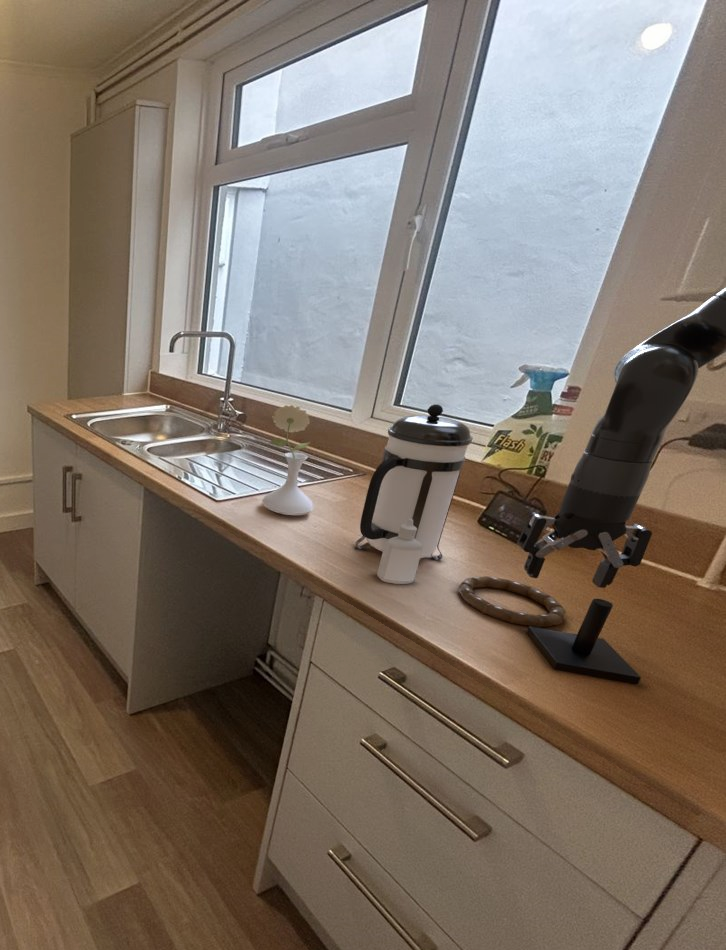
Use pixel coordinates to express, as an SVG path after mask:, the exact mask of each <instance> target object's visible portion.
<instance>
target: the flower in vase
mask: <svg viewBox="0 0 726 950" xmlns="http://www.w3.org/2000/svg"><path fill="white" fill-rule="evenodd" d="M271 418H272V420H273V421H272V422H273V423H274V426H275V427H276V428H278V430H284V431H285V432H286V438H285V440H284V439H282V438H281V437H276V438H273V439H272V440H270V441H269V442H268V444H269V445H273V446H276V447H279V448H283V447H285V446H288V449H289V450H290V452H285V453H284V454H283V455H284V457H285V459H286V461H287V474H286V475H287V476H286V481H285V483H284V484H283V485H282V486H281V487H278V488H277V489H274V490H272V491H270V492H269V493H267V494H266V495H265V496H264V497H263V498H262V504H263V507H265V508H266V509H268V510H269V511H272V512H274V513H277V514H279V515H284V516H303V515H308V514H310V513H312V511H314V508H315V506H314V503H313V501H312V499H310V498H309V496H307V494H306V493H305V492H303V491H302V489H300V488H299V486H298V477H299V473H300V470H301V468H302V465H303V464H304V463H305V461H306V460H307V459H308V458H309V456H308V455H307V454H305V453H301V452H294V451H299V450H303V449H304V448H307V447H308V446H309V445H310V444H311V441H308V442H303V443H298V444H297V445H296V446H295V447H293V448H292V446H291V445H290V442H289V433H295V432H296V433H299V432H300V431H306V428H307V427H308V425H310V424H311V422H310V421H311V419H310V417H309V413H307V411H306V410H303V409H301V407H300V406H294V405H292V404H291V405H288V404H287V405H286V404H285V405H284V406H283V407H280V406H279V407H278V408H277V409H275V412H273V415H271Z"/></svg>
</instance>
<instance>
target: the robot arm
mask: <svg viewBox="0 0 726 950" xmlns="http://www.w3.org/2000/svg"><path fill="white" fill-rule="evenodd" d="M725 353H726V287H723V289H721V290H720V291H719V292H717V293H715V294H714V295H713V296H711V297H710V298H708V299H707V300H706V301H705V302H703V303H702V304H701V305H700V306H698V307H697V308H696V309H694V310H693V311H692V312H690V313H689V314H687V315H686V316H684V317H681V318H680V319H679V320H677V321H675V322H673V323H672V324H669V325H668V326H667V327H665V328H663V329H662V330H660V331H658V332H657V333H655V334H653V335H652V336H650V337H649V338H646V339H645V340H644V341H642V342H641V343H639V344H638V345H636V346H635V347H633V348H632V349H631V350H629V351H628V352H626V353H625V354H624V355H623V356H622V357H621V358H620V359H619V361H617V363H616V365H615V366H614V370H613V379H614V382H615V386H614V388H613V392H612V394H611V397H610V399H609V402H608V404H607V407H606V410H605V412H604V414H603V415H602V416H601V417H599V419H598V420H597V422H596V423H595V425H594V427H593V429H592V431H591V434H590V437H589V439H588V442H587V444H586V445H585V446H586V447H585V449H584V451H583V453H582V455H581V457H580V459H578V461H577V463H576V465H575V468H574V470H573V472H572V474H571V475H570V480H569V483H568V485H567V488H566V490H565V493H564V495H563V498H562V500H561V502H560V505H559V510H558V512H557V514H556V515H554V516H553V517H552V516H546V515H541V514H540V513H538V512H531V513H530V514H529V516H528V518H527V520H526V523H525V524H524V526H523V529H522V531H521V532H520V535H519V537H518V539H517V541H516V545H517V546H519V548H521V549H522V550H523V551H524V552H525V553H528V555H527V558H526V560H525V563H524V565H523V569H524V571H525V573H526V574H527V575H528V576H529V577H530V578H533V579H538V578H539V576H540V573H541V571H542V568H543V565H544V563H545V561H546V558H545V557H547V556H548V555H550V554H552V553H553V552H555V551H560V550H562V549H564V548H566V547H568V548H570V549H585V550H588V551H596V550H598V551H599V552H600V554H601V556H602V557H603V559H604V560H600V562H599V564H598V566H597V567H596V568H597V569H596V570H595V573H594V575H593V577H592V583H593V585H595V586H596V587H597V588H601V589H602V588H603V589H605V588H607V586H610V585H611V584H613V581H614V579H615V577H616V575H617V573H618V571H619V569H620V568H622V567H625V566H631V567H638V566H640V565H641V563H642V561H643V559H644V555H645V553H646V550H647V548H648V545H649V543H650V540H651V537H652V536H653V532H652V531H651V530H650V529H648V528H647V527H645V526H644V525H642V524H640V523H634V524H632V525H626V522H628V521H629V520H630V518H631V517H632V514H633V512H634V510H635V508H636V505H637V503H638V501H639V499H640V496H641V495H642V492H643V490H644V488H645V486H646V483H647V481H648V479H649V477H650V473H651V468H652V465H653V462H654V460H655V458H656V455H657V454H658V451H659V449H660V446H661V445H662V442H663V439H664V437H665V434H666V431H667V429H668V426H669V425H670V424H671V422H672V421H673V420H674V419H675V417H676V415H677V414H678V412H679V411H680V409H681V408H682V406H683V405H684V403H685V401H686V400H687V398H688V396H689V394H690V393H691V391H692V389H693V388H694V385H695V383H696V381H697V377H698V373H699V369H700V368H702V367H704V366H706V365H708V364H709V363H711V362H712V361H714V360H715V359H717V358H719V357H720V356H722V355H723V354H725ZM550 526H552V528H553V529H552V530H551V531H549V532H547V533H546V534H543V535H542V537H541V539H539V538H540V536H541V534H542V532H543V531H547V529H548V527H550ZM623 536H624V538H626V540H625V542H624V545H623V547H622V550H621V552H619V550H618V549H617V547H616V544H615V543H614V541H616V540H618V539H619V538H621V537H623Z"/></svg>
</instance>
